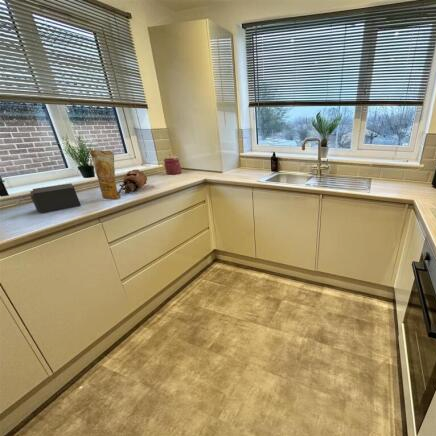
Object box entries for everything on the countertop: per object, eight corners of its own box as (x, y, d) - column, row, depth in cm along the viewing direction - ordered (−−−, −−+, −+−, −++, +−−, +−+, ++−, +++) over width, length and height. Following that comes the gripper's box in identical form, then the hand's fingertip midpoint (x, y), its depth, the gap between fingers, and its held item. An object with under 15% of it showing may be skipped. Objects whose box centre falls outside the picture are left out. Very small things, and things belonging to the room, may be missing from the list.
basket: (20, 215, 118) (11, 198, 115) (21, 209, 126) (13, 193, 123) (74, 205, 132) (68, 189, 128) (72, 200, 140) (66, 185, 137)
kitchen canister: (185, 172, 219) (181, 152, 213) (176, 175, 208) (171, 154, 201) (172, 171, 222) (168, 152, 215) (163, 174, 210) (158, 154, 203)
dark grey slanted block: (42, 213, 123) (32, 193, 119) (41, 207, 132) (32, 188, 128) (81, 205, 133) (73, 187, 129) (77, 201, 142) (71, 183, 138)
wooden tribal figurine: (109, 188, 148) (121, 168, 166) (125, 206, 158) (135, 186, 177) (132, 181, 148) (142, 162, 167) (147, 199, 159) (155, 180, 177)
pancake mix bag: (109, 193, 155) (95, 149, 145) (127, 197, 148) (113, 150, 137) (98, 196, 150) (82, 150, 139) (116, 200, 142) (101, 151, 131)
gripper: (-8, 146, 107) (15, 196, 115) (-5, 144, 115) (16, 192, 124) (-35, 147, 102) (-9, 200, 110) (-30, 145, 110) (-6, 194, 119)
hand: (4, 195), depth 117 cm, fingers closed
